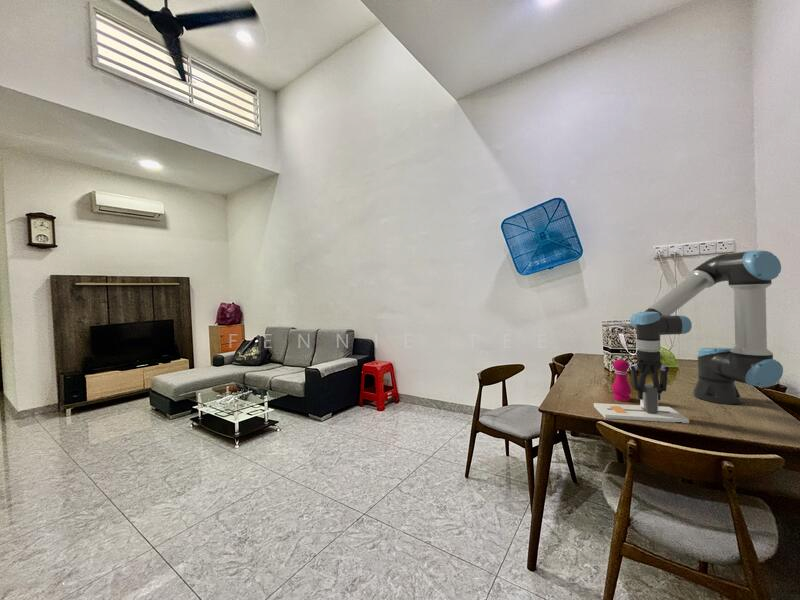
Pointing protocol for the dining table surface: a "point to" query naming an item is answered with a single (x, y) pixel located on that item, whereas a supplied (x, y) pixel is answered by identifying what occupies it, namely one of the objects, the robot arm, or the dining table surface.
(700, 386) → the robot arm
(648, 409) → the fader knob
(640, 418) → the plate
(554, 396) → the dining table surface
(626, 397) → the pepper mill
